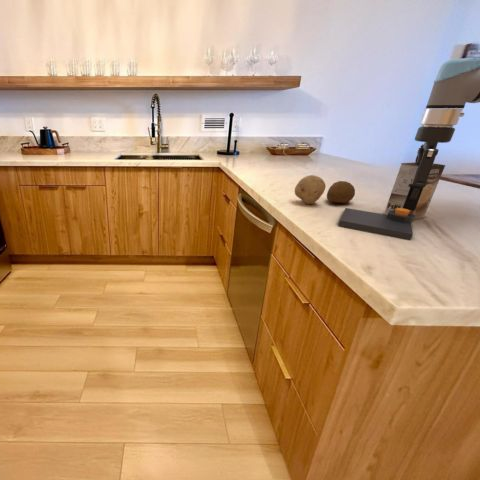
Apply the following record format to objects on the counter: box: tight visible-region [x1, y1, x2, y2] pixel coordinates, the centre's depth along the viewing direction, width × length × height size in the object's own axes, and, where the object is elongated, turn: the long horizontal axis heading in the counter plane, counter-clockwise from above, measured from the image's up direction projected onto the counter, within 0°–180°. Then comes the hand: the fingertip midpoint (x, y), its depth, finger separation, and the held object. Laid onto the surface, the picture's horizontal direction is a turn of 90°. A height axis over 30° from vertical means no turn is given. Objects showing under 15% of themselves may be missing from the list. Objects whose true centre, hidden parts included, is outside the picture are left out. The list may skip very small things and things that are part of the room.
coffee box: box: [383, 162, 446, 221], centre depth 85 cm, size 9×6×16 cm
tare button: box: [395, 208, 410, 216], centre depth 80 cm, size 3×3×2 cm
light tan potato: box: [294, 174, 326, 205], centre depth 98 cm, size 9×9×10 cm
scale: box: [337, 207, 415, 241], centre depth 81 cm, size 16×14×4 cm
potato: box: [326, 180, 356, 204], centre depth 100 cm, size 8×12×8 cm, turn 139°
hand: (407, 204), depth 86 cm, fingers closed on coffee box, 10 cm apart
